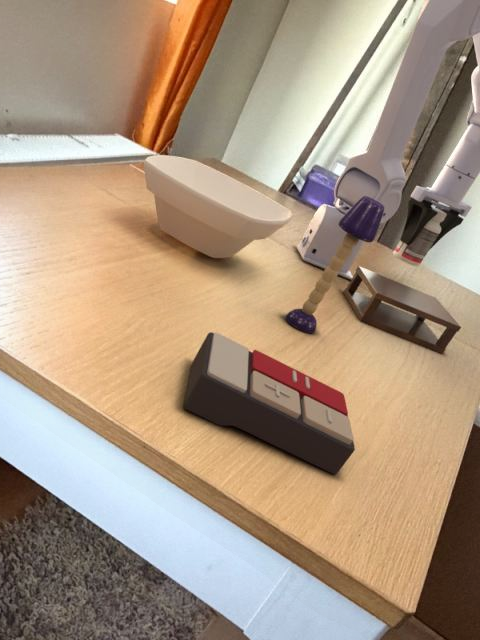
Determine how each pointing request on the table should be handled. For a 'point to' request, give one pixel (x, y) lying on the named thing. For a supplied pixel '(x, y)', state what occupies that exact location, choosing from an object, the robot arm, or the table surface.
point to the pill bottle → (421, 241)
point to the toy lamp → (340, 257)
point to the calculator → (270, 402)
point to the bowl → (209, 206)
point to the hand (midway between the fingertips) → (414, 245)
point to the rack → (397, 319)
